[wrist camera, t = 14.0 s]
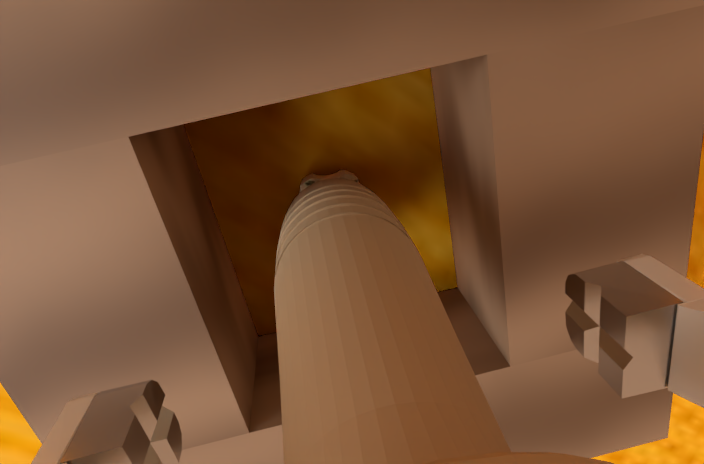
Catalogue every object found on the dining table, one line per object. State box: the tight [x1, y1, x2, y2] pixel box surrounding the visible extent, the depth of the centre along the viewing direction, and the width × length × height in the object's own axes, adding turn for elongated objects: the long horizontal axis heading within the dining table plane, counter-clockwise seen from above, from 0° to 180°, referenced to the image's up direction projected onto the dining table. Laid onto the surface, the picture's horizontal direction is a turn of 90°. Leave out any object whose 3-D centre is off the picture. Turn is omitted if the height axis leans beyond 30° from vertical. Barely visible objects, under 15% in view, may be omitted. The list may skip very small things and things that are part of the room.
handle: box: [274, 169, 613, 464], centre depth 10 cm, size 5×6×15 cm
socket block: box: [0, 0, 704, 464], centre depth 15 cm, size 20×20×5 cm
